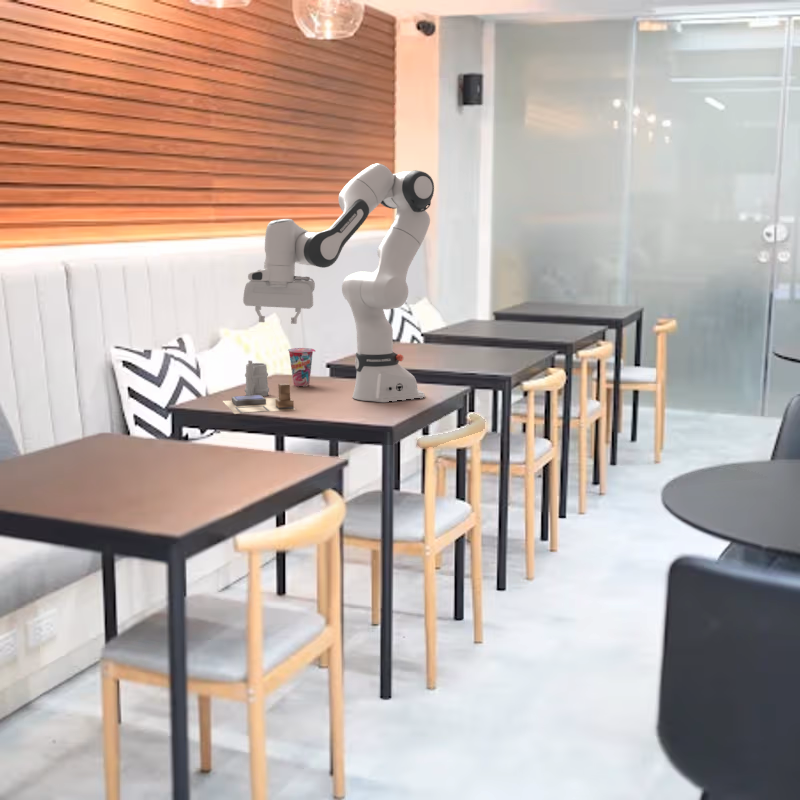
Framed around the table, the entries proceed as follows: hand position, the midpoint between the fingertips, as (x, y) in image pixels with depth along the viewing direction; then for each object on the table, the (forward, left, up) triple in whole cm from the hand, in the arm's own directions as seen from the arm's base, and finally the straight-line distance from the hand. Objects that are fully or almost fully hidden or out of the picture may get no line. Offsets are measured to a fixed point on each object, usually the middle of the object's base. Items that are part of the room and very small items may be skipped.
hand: (277, 322), depth 324 cm
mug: (+3, -24, -26) cm, 35 cm away
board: (+6, -3, -26) cm, 26 cm away
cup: (-16, -39, -26) cm, 49 cm away
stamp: (-1, +3, -25) cm, 25 cm away
